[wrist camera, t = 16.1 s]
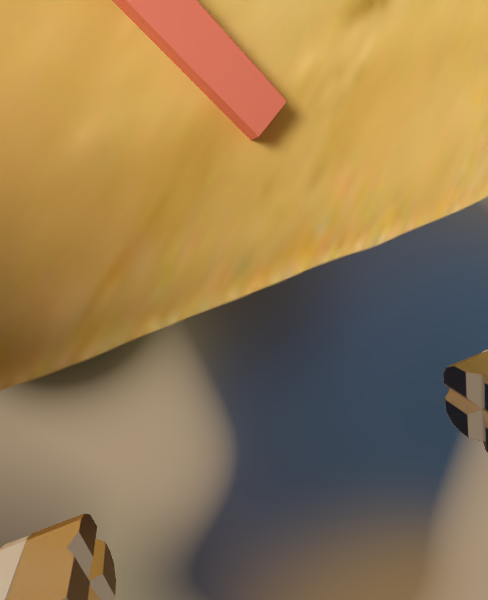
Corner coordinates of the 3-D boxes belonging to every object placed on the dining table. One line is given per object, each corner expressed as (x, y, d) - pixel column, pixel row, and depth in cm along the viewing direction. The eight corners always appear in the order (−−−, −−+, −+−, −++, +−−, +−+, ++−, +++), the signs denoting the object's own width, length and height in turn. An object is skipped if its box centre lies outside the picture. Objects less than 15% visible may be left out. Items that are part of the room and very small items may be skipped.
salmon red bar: (249, 140, 36) (258, 136, 33) (39, -71, 28) (28, -100, 25) (275, 108, 36) (286, 101, 33) (71, -115, 28) (64, -149, 25)
